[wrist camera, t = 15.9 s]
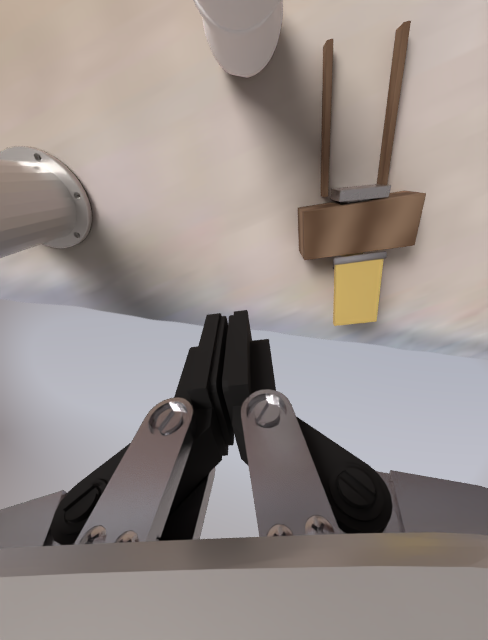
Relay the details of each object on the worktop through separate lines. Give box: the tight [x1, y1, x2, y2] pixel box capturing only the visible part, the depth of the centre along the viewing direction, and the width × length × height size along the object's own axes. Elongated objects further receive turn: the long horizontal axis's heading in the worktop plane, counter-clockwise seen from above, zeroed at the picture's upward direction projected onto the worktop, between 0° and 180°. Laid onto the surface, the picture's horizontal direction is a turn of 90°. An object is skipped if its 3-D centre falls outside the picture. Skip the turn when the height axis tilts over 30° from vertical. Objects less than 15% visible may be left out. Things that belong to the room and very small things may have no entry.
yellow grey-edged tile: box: [333, 251, 387, 326], centre depth 33 cm, size 6×10×1 cm, turn 9°
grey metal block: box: [330, 184, 391, 269], centre depth 33 cm, size 11×6×4 cm, turn 5°
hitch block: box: [298, 21, 426, 260], centre depth 28 cm, size 14×21×5 cm, turn 9°
